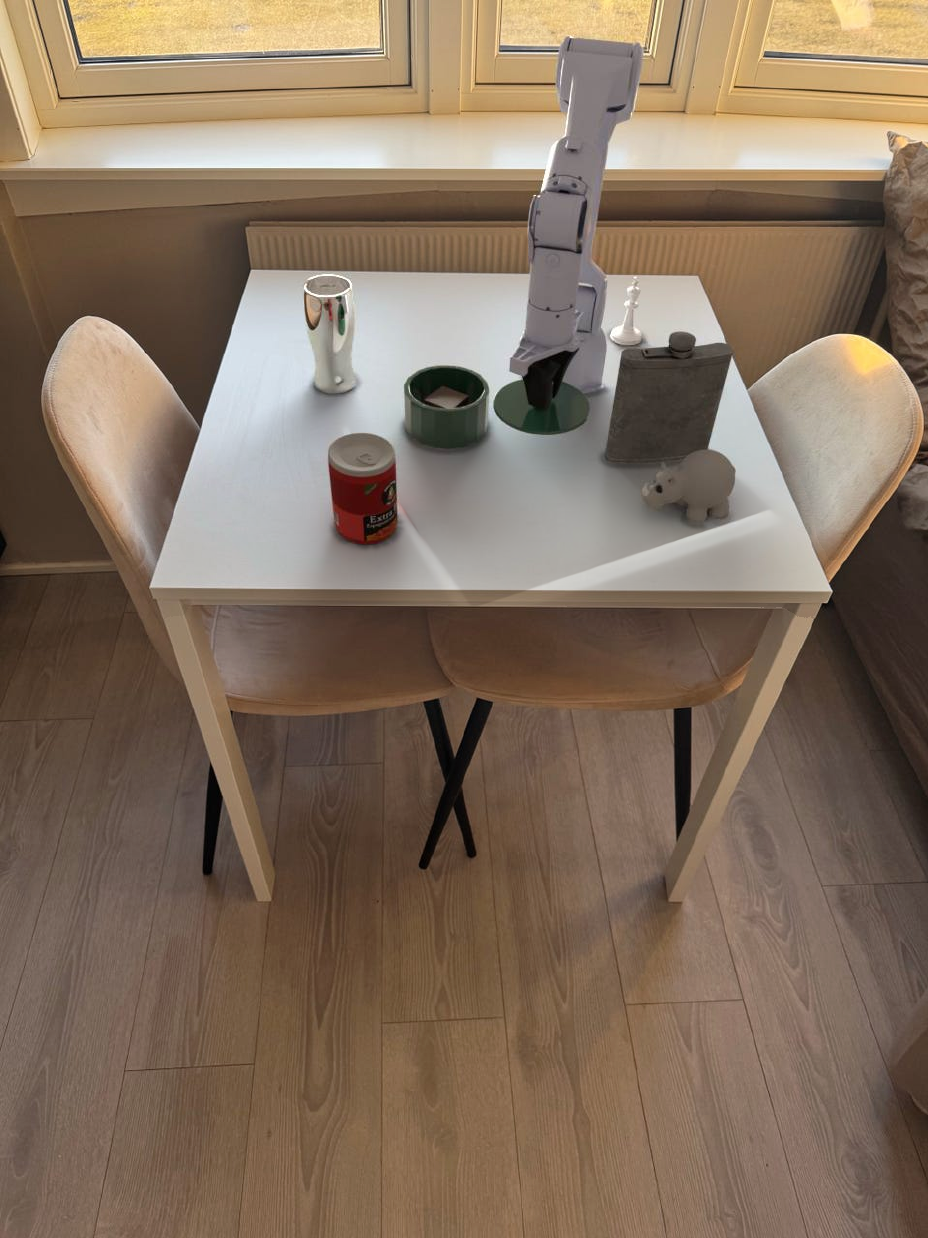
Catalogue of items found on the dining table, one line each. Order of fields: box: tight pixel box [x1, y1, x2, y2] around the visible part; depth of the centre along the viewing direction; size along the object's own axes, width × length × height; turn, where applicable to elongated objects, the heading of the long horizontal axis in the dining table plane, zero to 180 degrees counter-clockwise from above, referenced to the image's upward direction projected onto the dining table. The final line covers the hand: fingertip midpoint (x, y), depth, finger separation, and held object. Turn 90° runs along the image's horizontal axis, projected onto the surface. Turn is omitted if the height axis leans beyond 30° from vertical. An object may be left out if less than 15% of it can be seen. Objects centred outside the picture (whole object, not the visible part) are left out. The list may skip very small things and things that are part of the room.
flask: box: [604, 330, 734, 464], centre depth 119 cm, size 4×14×18 cm, turn 100°
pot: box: [403, 364, 490, 450], centre depth 127 cm, size 11×12×6 cm
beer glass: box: [302, 274, 357, 395], centre depth 131 cm, size 7×7×15 cm
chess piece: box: [610, 276, 642, 346], centre depth 144 cm, size 5×5×10 cm
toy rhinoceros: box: [641, 448, 736, 524], centre depth 114 cm, size 7×12×8 cm, turn 105°
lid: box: [492, 378, 591, 436], centre depth 117 cm, size 12×12×5 cm
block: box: [424, 386, 469, 409], centre depth 127 cm, size 4×4×4 cm
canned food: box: [327, 432, 398, 545], centre depth 110 cm, size 8×8×11 cm
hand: (542, 400), depth 118 cm, fingers closed on lid, 2 cm apart
